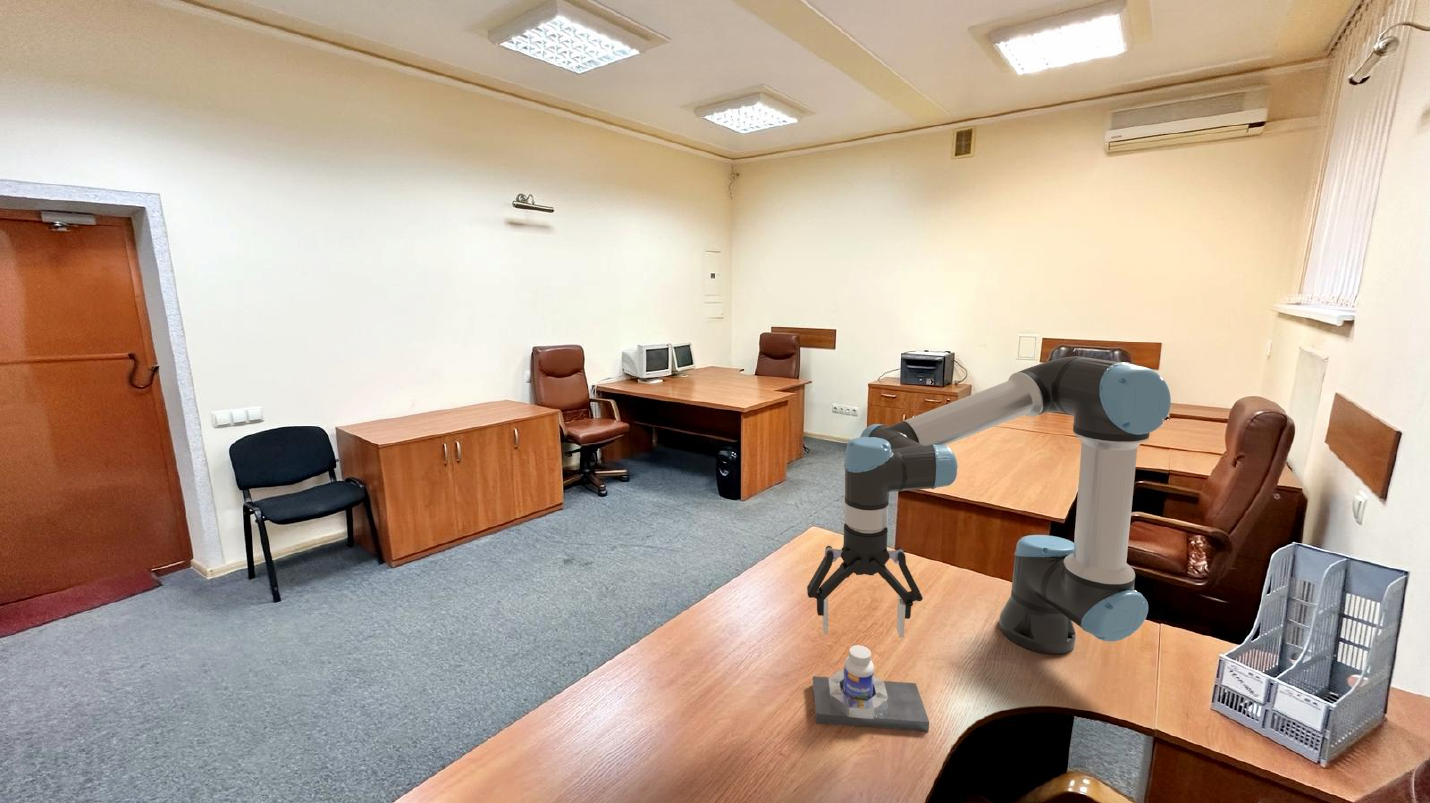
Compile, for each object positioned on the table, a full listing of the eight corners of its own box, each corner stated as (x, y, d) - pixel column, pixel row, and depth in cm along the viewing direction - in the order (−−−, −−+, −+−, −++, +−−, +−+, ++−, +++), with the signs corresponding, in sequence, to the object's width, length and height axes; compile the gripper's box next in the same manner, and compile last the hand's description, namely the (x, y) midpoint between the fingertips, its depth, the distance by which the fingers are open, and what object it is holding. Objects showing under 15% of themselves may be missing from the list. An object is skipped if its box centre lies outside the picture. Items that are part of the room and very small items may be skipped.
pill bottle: (843, 705, 104) (845, 659, 102) (842, 685, 109) (844, 640, 107) (873, 709, 103) (876, 662, 101) (871, 688, 108) (873, 644, 106)
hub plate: (914, 690, 110) (916, 671, 109) (928, 732, 100) (930, 711, 99) (812, 683, 112) (813, 664, 111) (816, 723, 102) (816, 703, 101)
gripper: (932, 517, 101) (926, 621, 105) (793, 514, 104) (793, 616, 108) (945, 535, 94) (937, 647, 98) (795, 532, 96) (795, 640, 101)
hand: (862, 631), depth 103 cm, fingers open, 13 cm apart
